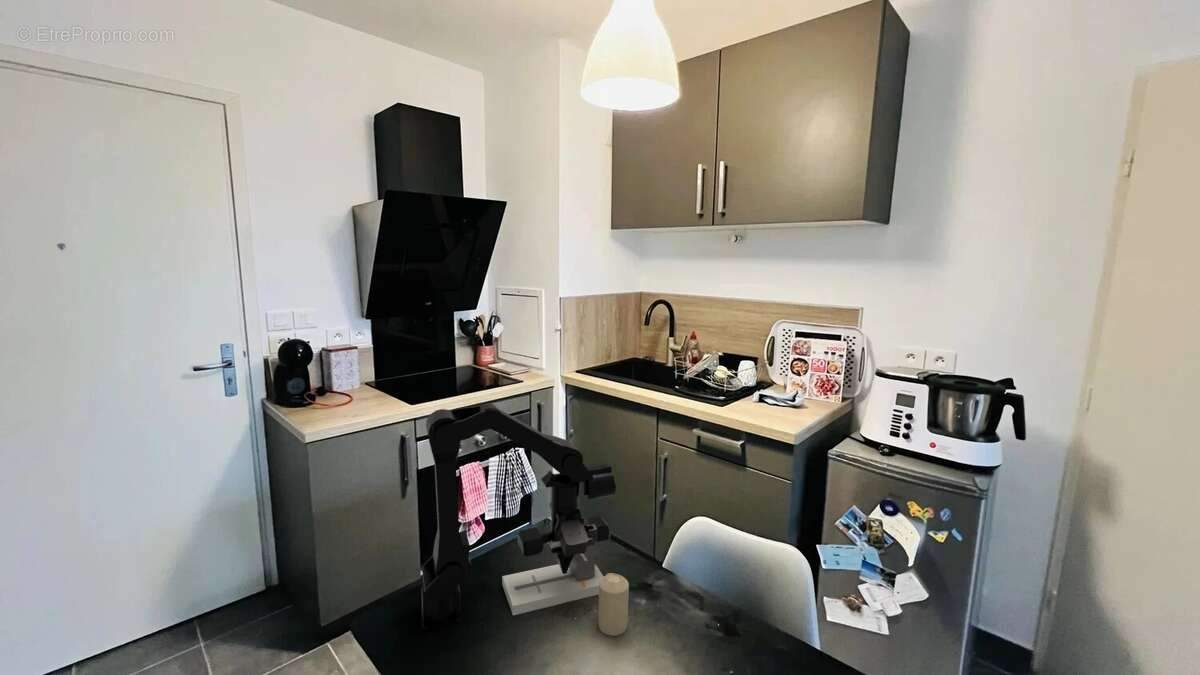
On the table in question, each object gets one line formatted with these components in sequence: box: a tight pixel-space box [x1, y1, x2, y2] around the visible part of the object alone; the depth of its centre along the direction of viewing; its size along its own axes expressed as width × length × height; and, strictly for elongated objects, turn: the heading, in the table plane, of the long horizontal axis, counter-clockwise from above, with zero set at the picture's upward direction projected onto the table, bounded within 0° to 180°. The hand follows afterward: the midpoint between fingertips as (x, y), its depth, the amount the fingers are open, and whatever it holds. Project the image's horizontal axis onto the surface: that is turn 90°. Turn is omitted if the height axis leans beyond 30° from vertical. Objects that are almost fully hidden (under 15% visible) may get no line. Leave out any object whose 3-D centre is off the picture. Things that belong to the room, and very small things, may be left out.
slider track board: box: [501, 563, 605, 616], centre depth 103 cm, size 20×10×2 cm, turn 113°
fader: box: [569, 547, 596, 581], centre depth 105 cm, size 4×5×4 cm
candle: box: [597, 572, 630, 637], centre depth 92 cm, size 6×6×10 cm
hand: (564, 572), depth 103 cm, fingers closed
